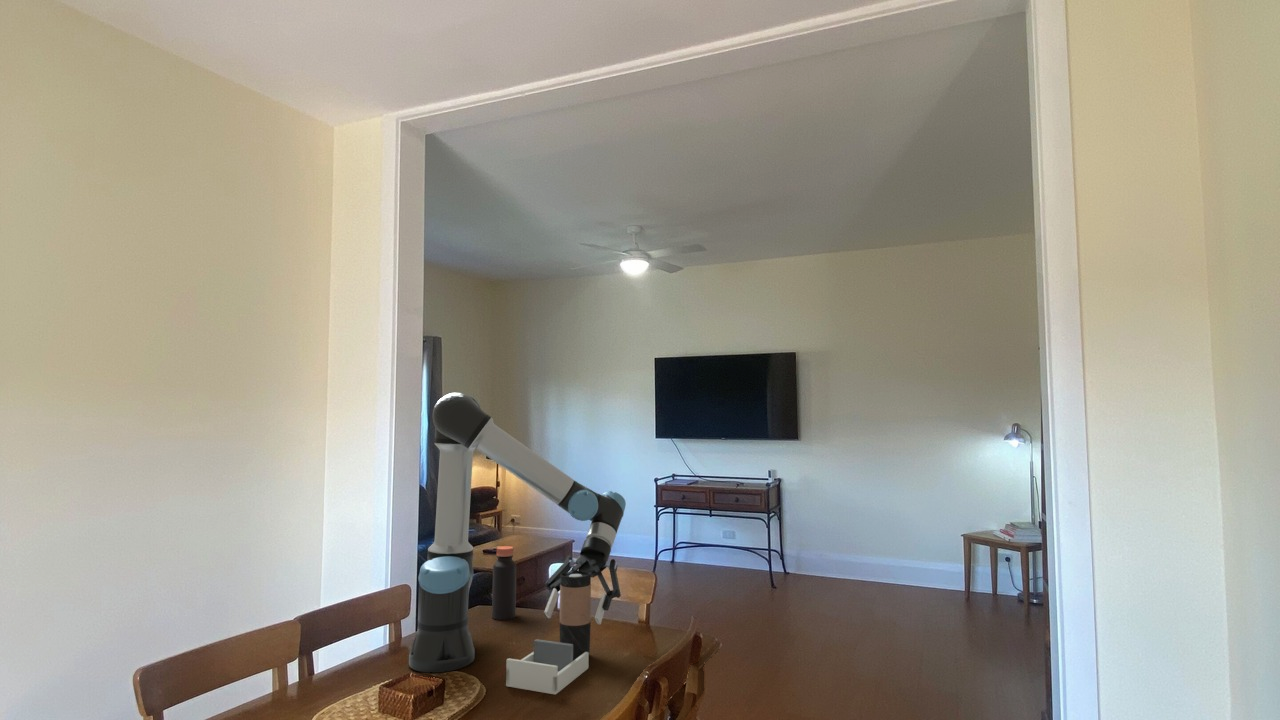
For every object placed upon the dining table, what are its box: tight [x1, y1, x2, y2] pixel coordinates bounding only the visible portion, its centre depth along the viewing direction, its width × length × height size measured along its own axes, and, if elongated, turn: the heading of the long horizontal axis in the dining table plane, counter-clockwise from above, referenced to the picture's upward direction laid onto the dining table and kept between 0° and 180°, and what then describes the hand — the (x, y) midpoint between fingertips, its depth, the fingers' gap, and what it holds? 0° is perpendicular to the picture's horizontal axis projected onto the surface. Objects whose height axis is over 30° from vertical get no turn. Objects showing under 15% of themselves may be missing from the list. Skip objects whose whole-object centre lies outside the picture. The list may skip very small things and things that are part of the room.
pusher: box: [533, 638, 573, 672], centre depth 151 cm, size 10×2×6 cm, turn 69°
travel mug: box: [559, 570, 592, 661], centre depth 162 cm, size 8×8×20 cm
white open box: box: [505, 651, 590, 696], centre depth 149 cm, size 12×16×6 cm
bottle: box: [491, 545, 517, 621], centre depth 195 cm, size 7×7×20 cm
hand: (571, 618), depth 160 cm, fingers open, 13 cm apart
